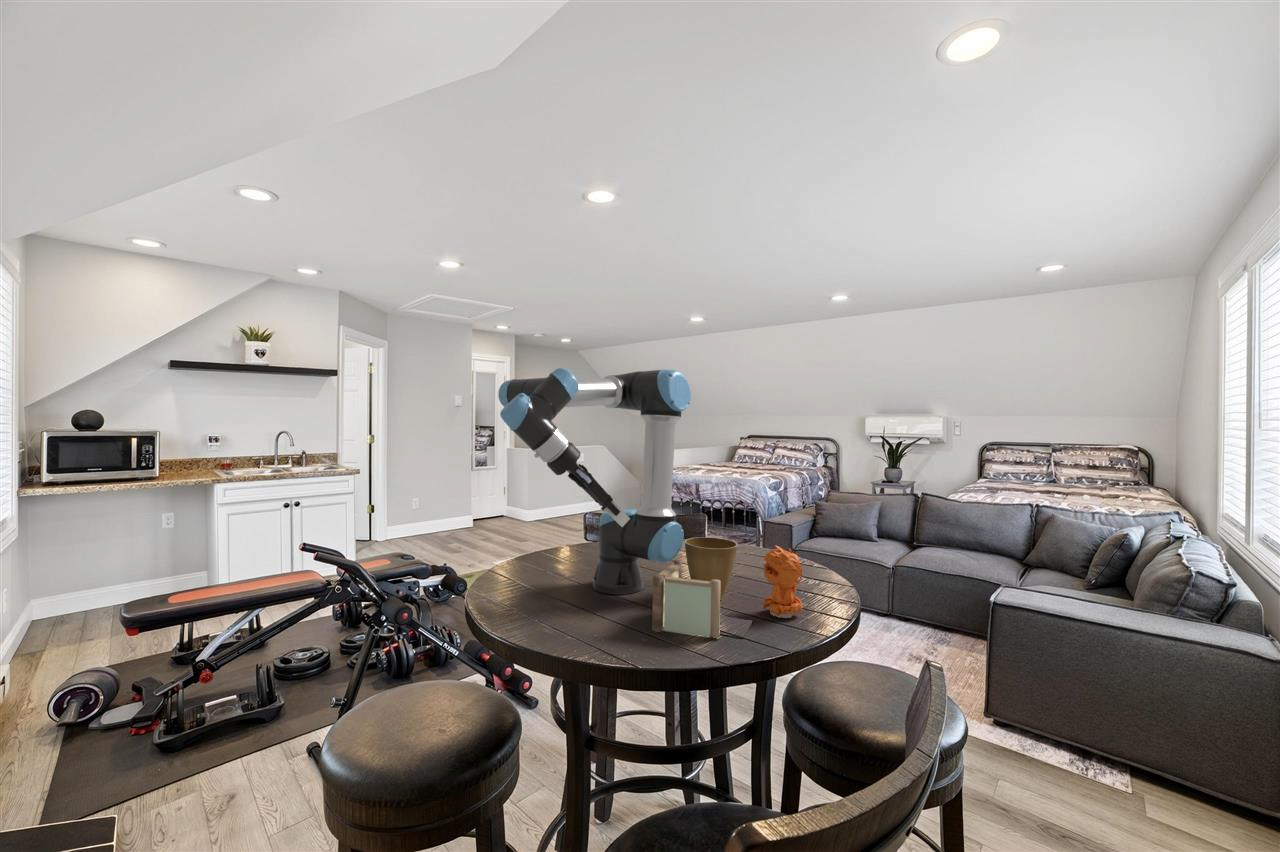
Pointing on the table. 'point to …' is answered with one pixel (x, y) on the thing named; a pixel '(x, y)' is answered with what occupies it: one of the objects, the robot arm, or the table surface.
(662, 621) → the fence fixed
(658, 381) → the robot arm
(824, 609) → the table surface
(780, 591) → the orange figurine
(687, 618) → the fence gate
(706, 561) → the plant pot
